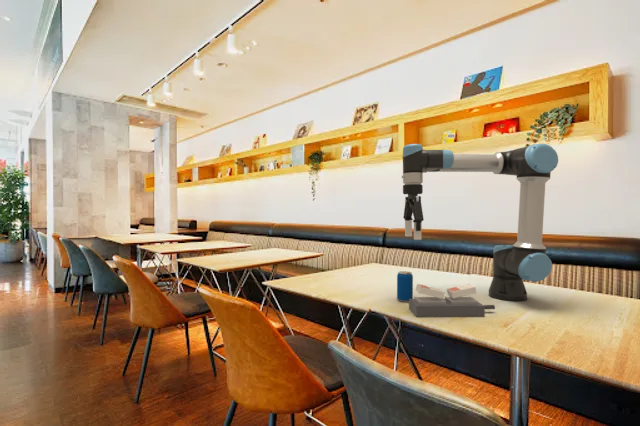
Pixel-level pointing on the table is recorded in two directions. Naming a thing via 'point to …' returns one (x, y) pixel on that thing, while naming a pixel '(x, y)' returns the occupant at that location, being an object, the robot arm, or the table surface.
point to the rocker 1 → (430, 291)
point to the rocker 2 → (461, 291)
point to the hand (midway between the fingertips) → (412, 237)
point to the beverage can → (404, 286)
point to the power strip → (447, 307)
